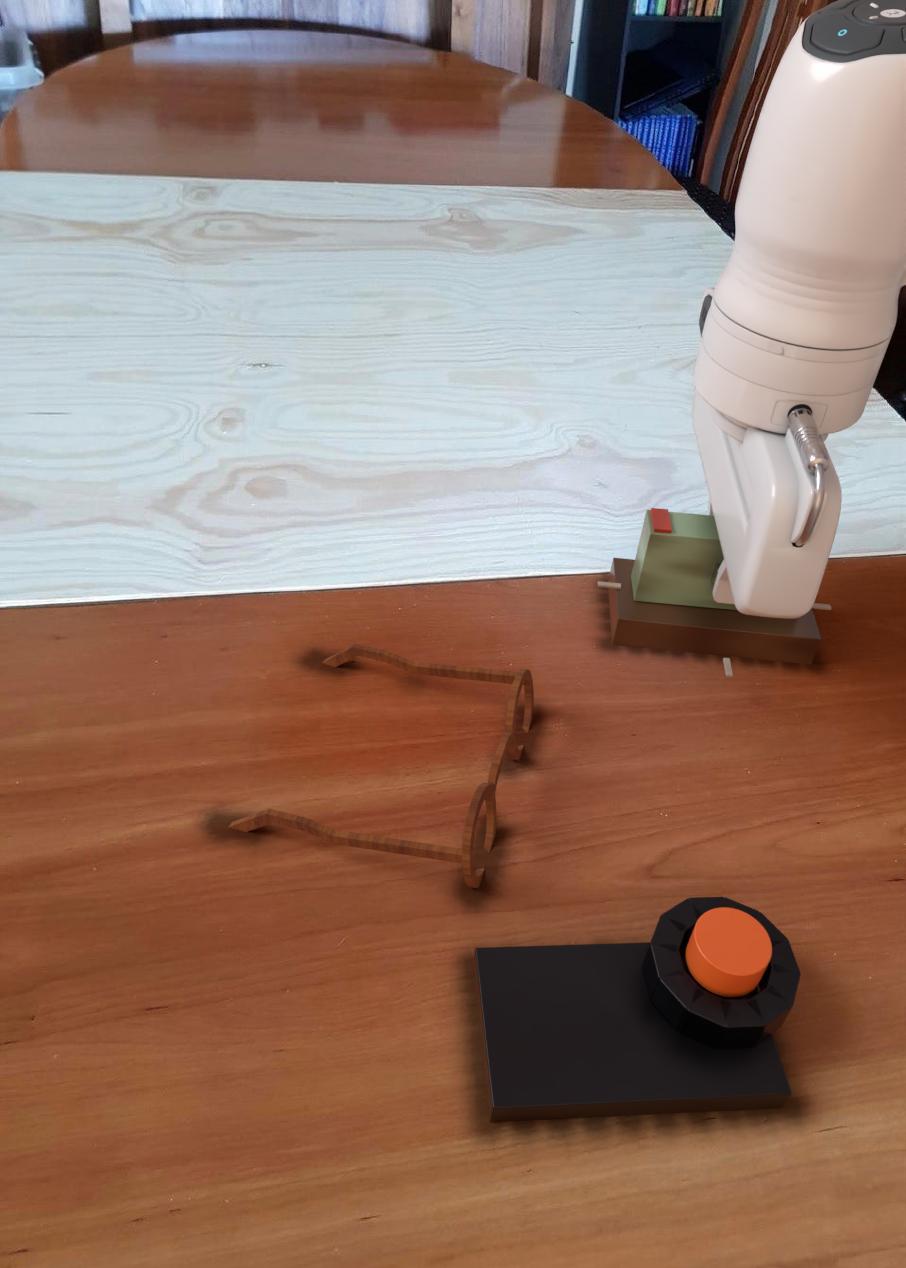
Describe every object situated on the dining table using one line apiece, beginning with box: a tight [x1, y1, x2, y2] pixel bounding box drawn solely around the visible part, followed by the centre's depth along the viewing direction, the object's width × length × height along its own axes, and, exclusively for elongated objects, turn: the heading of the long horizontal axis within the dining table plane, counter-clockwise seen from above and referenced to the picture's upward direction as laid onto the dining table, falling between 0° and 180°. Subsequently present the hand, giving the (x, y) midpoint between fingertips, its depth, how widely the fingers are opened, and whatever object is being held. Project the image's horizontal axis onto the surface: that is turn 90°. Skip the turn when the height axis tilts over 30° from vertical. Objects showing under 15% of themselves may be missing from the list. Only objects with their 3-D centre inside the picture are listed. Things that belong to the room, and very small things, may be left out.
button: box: [685, 907, 772, 997], centre depth 44 cm, size 3×3×2 cm
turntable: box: [597, 557, 832, 678], centre depth 65 cm, size 14×14×3 cm
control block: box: [472, 896, 802, 1123], centre depth 45 cm, size 13×8×4 cm, turn 95°
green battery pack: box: [631, 507, 737, 610], centre depth 63 cm, size 10×2×5 cm, turn 87°
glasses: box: [227, 643, 535, 889], centre depth 54 cm, size 13×13×5 cm
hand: (720, 575), depth 63 cm, fingers closed on green battery pack, 2 cm apart
